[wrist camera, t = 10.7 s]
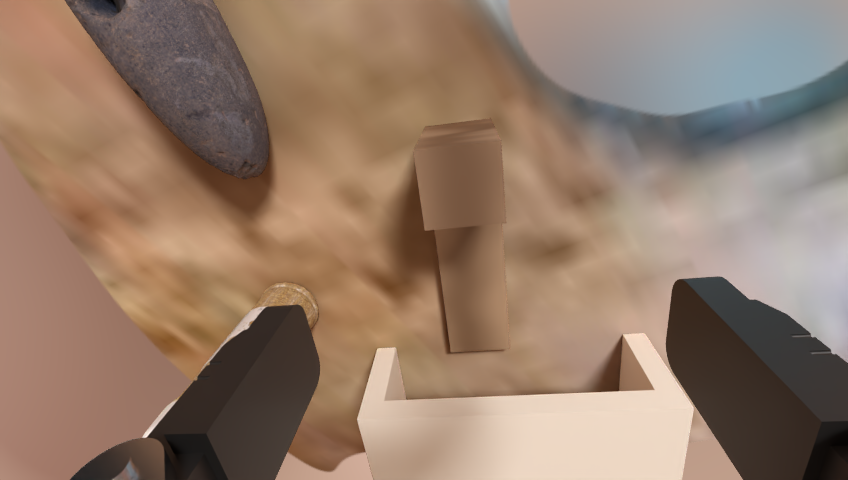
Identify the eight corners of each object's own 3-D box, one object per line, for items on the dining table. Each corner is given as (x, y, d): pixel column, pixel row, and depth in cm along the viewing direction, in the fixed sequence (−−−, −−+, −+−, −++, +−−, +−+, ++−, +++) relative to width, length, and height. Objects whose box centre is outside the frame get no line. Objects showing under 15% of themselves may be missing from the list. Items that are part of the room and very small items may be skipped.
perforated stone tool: (309, 151, 27) (261, 181, 20) (242, 179, 28) (177, 215, 21) (171, -120, 21) (49, -194, 15) (96, -71, 22) (-48, -120, 16)
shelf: (644, 333, 30) (694, 408, 24) (636, 414, 33) (678, 499, 27) (377, 348, 33) (357, 419, 26) (393, 422, 36) (379, 501, 29)
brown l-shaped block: (494, 117, 25) (505, 139, 18) (508, 340, 31) (520, 413, 25) (422, 127, 25) (408, 151, 19) (451, 343, 32) (448, 416, 25)
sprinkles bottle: (329, 297, 31) (243, 455, 19) (306, 338, 33) (215, 508, 21) (273, 269, 30) (147, 414, 18) (253, 313, 32) (126, 471, 20)
